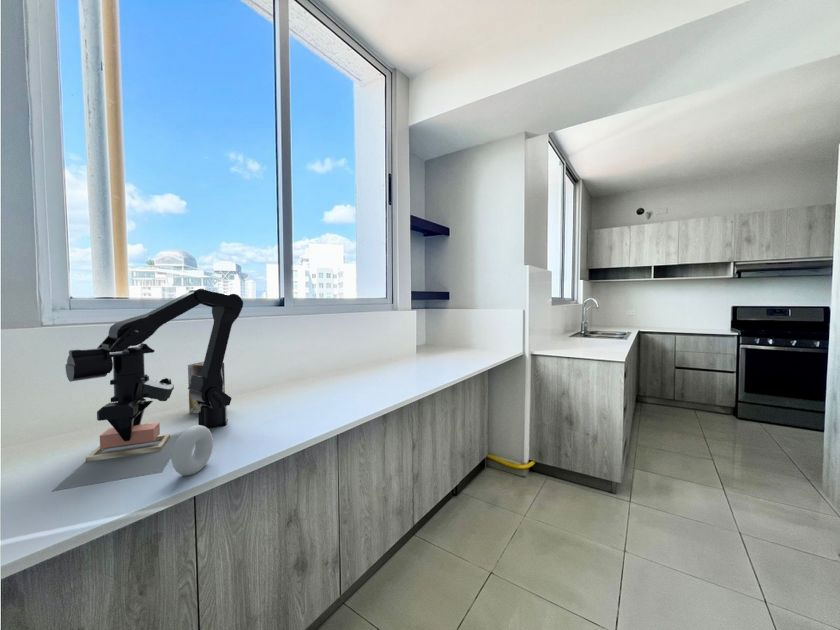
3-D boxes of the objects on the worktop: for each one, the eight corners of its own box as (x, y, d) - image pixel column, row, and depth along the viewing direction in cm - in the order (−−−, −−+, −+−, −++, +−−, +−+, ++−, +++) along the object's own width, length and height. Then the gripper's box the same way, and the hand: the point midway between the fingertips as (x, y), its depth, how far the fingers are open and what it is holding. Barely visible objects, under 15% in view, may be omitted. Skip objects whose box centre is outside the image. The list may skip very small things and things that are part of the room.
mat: (186, 435, 91) (186, 433, 91) (162, 474, 70) (162, 472, 70) (105, 446, 84) (104, 444, 84) (51, 493, 63) (51, 491, 63)
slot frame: (170, 437, 88) (170, 434, 88) (160, 450, 80) (160, 446, 80) (103, 447, 82) (102, 443, 82) (85, 462, 75) (85, 457, 75)
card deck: (109, 440, 82) (108, 428, 81) (159, 433, 86) (159, 422, 86) (100, 448, 77) (99, 435, 77) (153, 440, 81) (153, 428, 81)
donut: (202, 461, 76) (201, 418, 76) (217, 461, 76) (216, 418, 75) (167, 485, 66) (166, 435, 66) (184, 485, 66) (183, 435, 65)
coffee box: (226, 409, 114) (225, 362, 113) (211, 415, 108) (209, 365, 107) (204, 407, 116) (203, 361, 115) (187, 413, 110) (186, 364, 109)
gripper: (159, 377, 76) (161, 445, 76) (178, 364, 93) (180, 419, 93) (94, 382, 71) (97, 454, 72) (127, 367, 88) (129, 425, 89)
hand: (131, 436), depth 81 cm, fingers closed on card deck, 5 cm apart
